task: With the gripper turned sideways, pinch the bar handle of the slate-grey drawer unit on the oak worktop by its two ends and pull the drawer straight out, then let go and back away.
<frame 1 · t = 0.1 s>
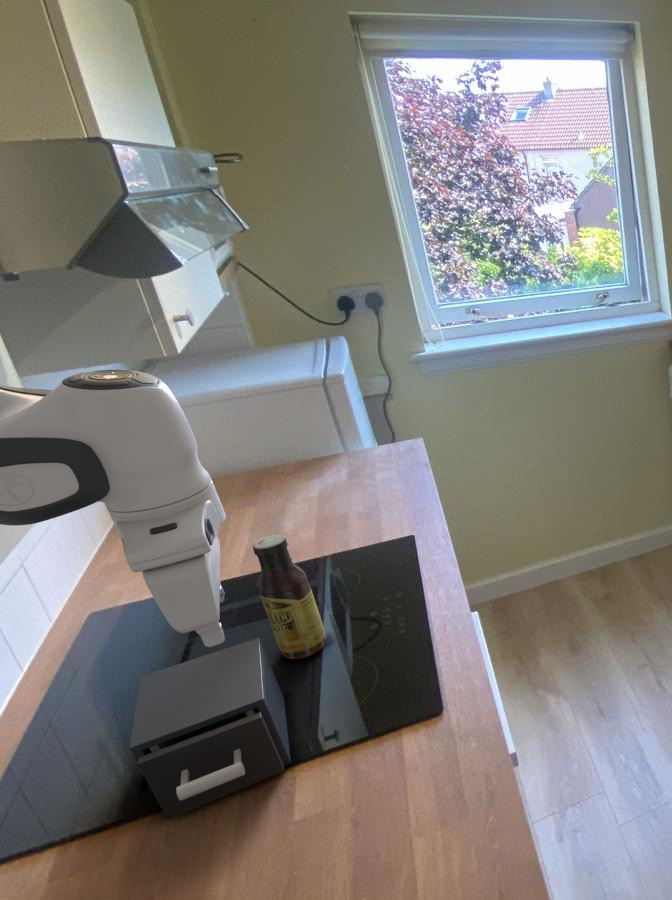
hand: (216, 620, 84), 23 cm above the worktop, tool pointing down, fingers open, 8 cm apart
cabinet: (230, 751, 96), on the worktop
sauce bottle: (307, 650, 115), on the worktop
drawer: (215, 743, 90), point 5 cm above the worktop, slide at 1.0 cm
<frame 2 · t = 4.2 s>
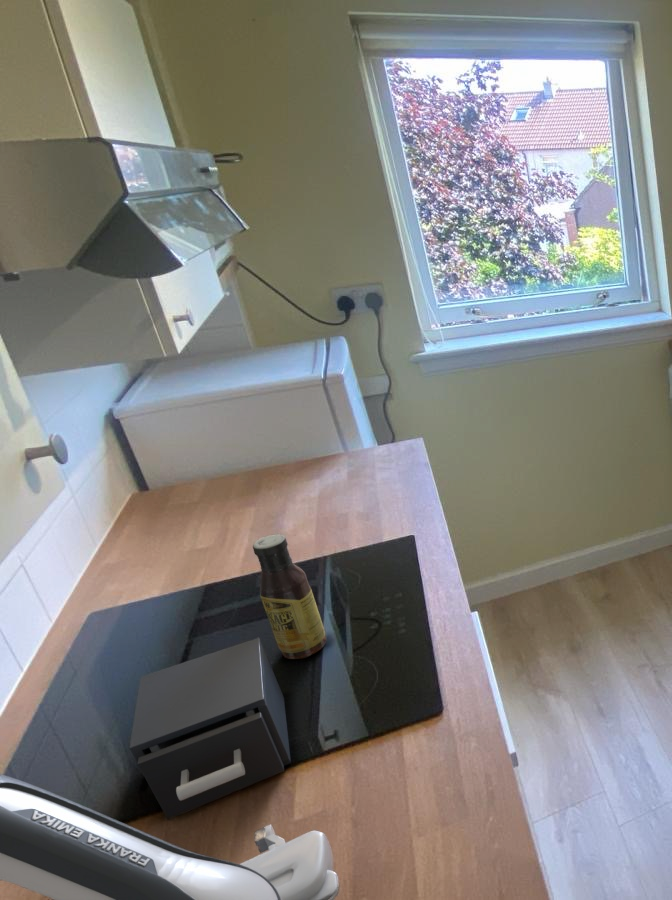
hand: (210, 856, 75), 7 cm above the worktop, tool horizontal, fingers open, 8 cm apart
nothing on the worktop moved.
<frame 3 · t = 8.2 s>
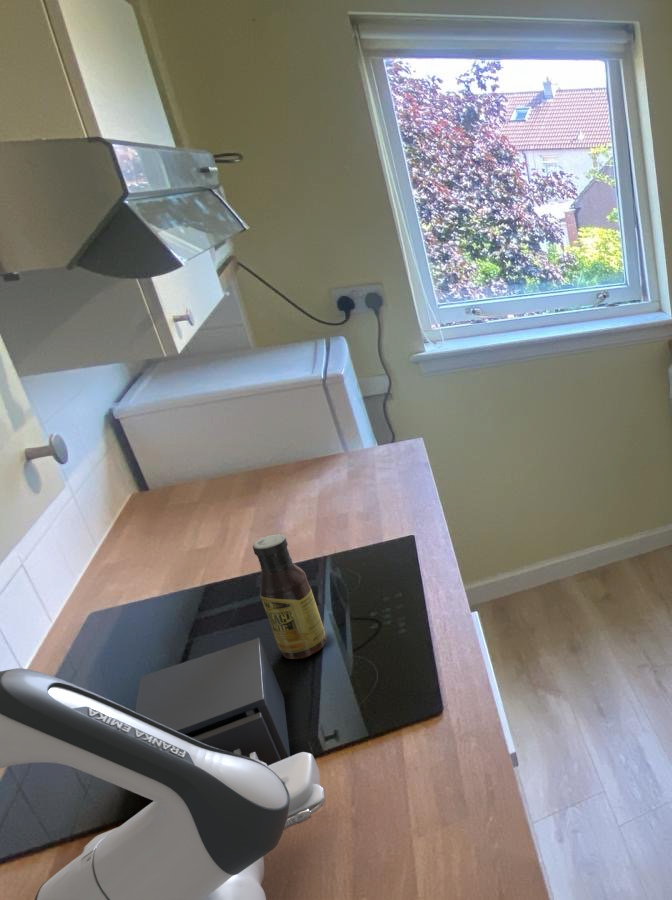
hand: (211, 774, 85), 6 cm above the worktop, tool horizontal, fingers closed on drawer, 6 cm apart
drawer: (215, 743, 90), point 5 cm above the worktop, slide at 1.0 cm, touching gripper
everything else where it was.
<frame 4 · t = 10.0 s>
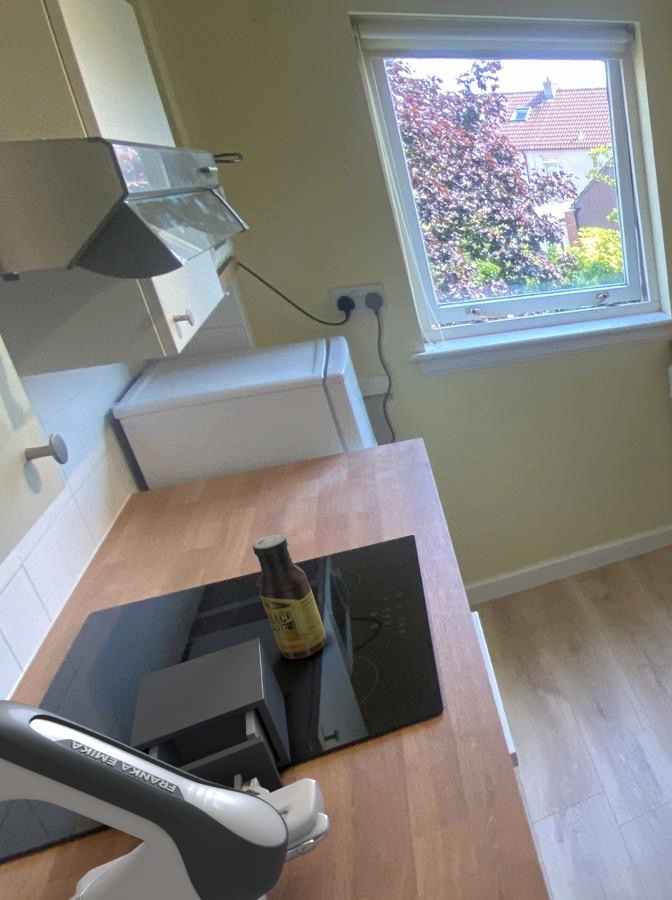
hand: (210, 801, 81), 6 cm above the worktop, tool horizontal, fingers closed on drawer, 6 cm apart
drawer: (215, 768, 87), point 5 cm above the worktop, slide at 5.7 cm, touching gripper
everything else where it was.
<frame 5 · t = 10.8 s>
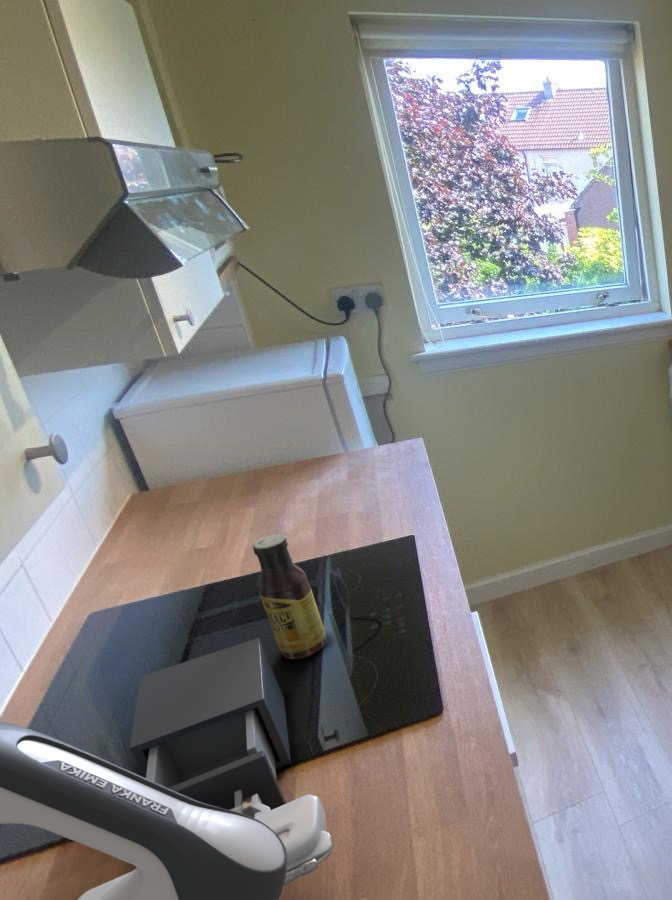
hand: (210, 818, 79), 6 cm above the worktop, tool horizontal, fingers closed on drawer, 6 cm apart
drawer: (214, 783, 85), point 5 cm above the worktop, slide at 8.4 cm, touching gripper
everything else where it was.
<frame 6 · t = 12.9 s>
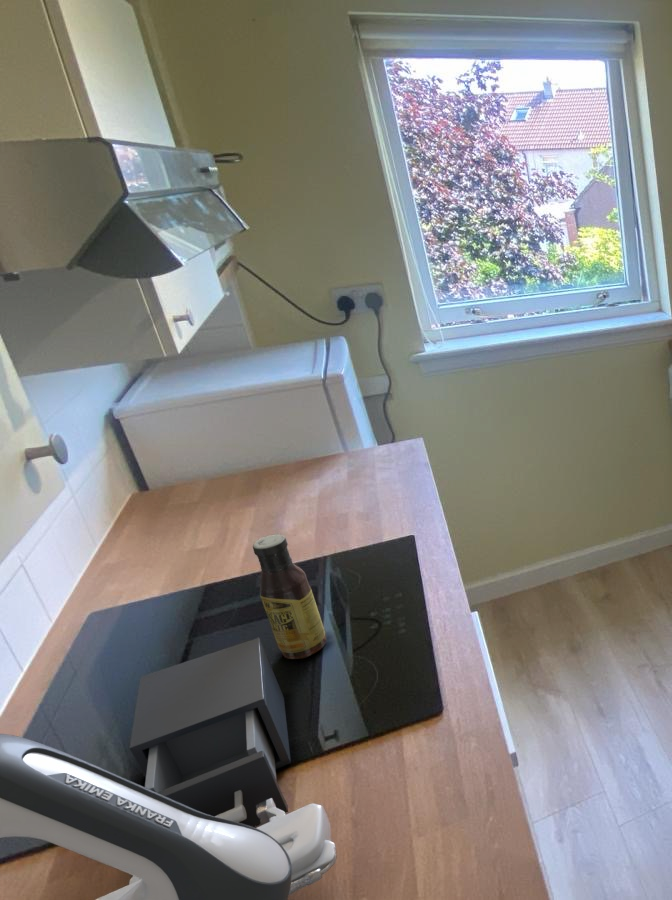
hand: (214, 827, 79), 6 cm above the worktop, tool horizontal, fingers open, 8 cm apart
drawer: (214, 783, 85), point 5 cm above the worktop, slide at 8.5 cm
everything else where it was.
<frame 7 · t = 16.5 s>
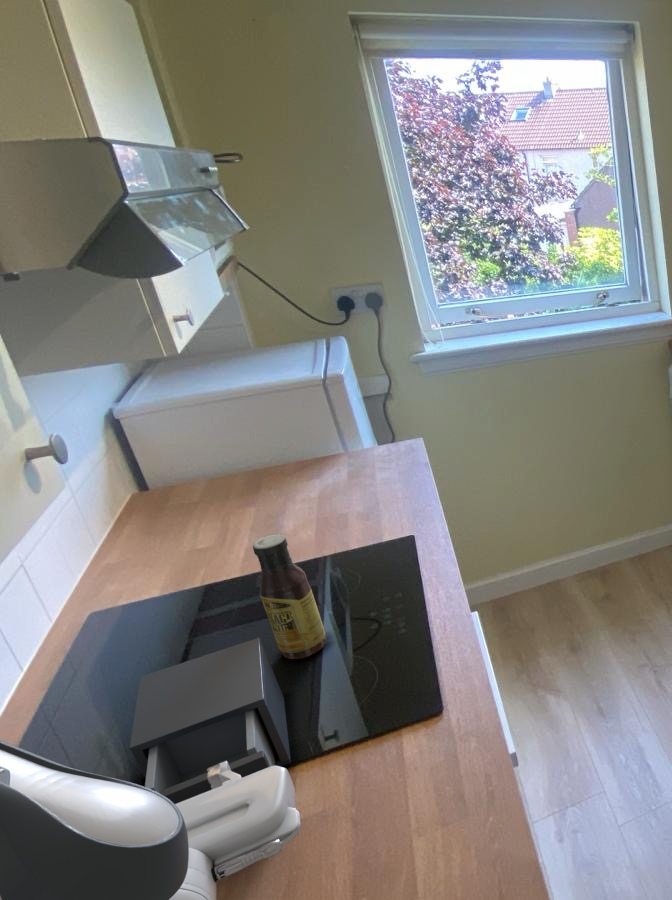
hand: (155, 794, 66), 20 cm above the worktop, tool horizontal, fingers open, 8 cm apart
nothing on the worktop moved.
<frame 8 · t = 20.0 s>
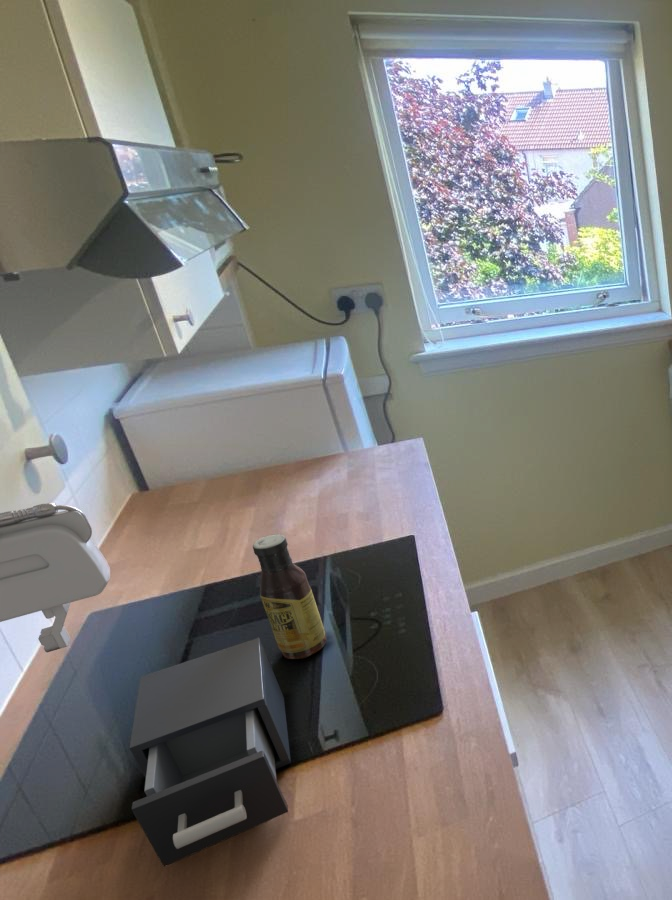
nothing on the worktop moved.
at the end: drawer slide at 8.5 cm; the gripper is holding nothing; sauce bottle moved 0.2 cm from its start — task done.
